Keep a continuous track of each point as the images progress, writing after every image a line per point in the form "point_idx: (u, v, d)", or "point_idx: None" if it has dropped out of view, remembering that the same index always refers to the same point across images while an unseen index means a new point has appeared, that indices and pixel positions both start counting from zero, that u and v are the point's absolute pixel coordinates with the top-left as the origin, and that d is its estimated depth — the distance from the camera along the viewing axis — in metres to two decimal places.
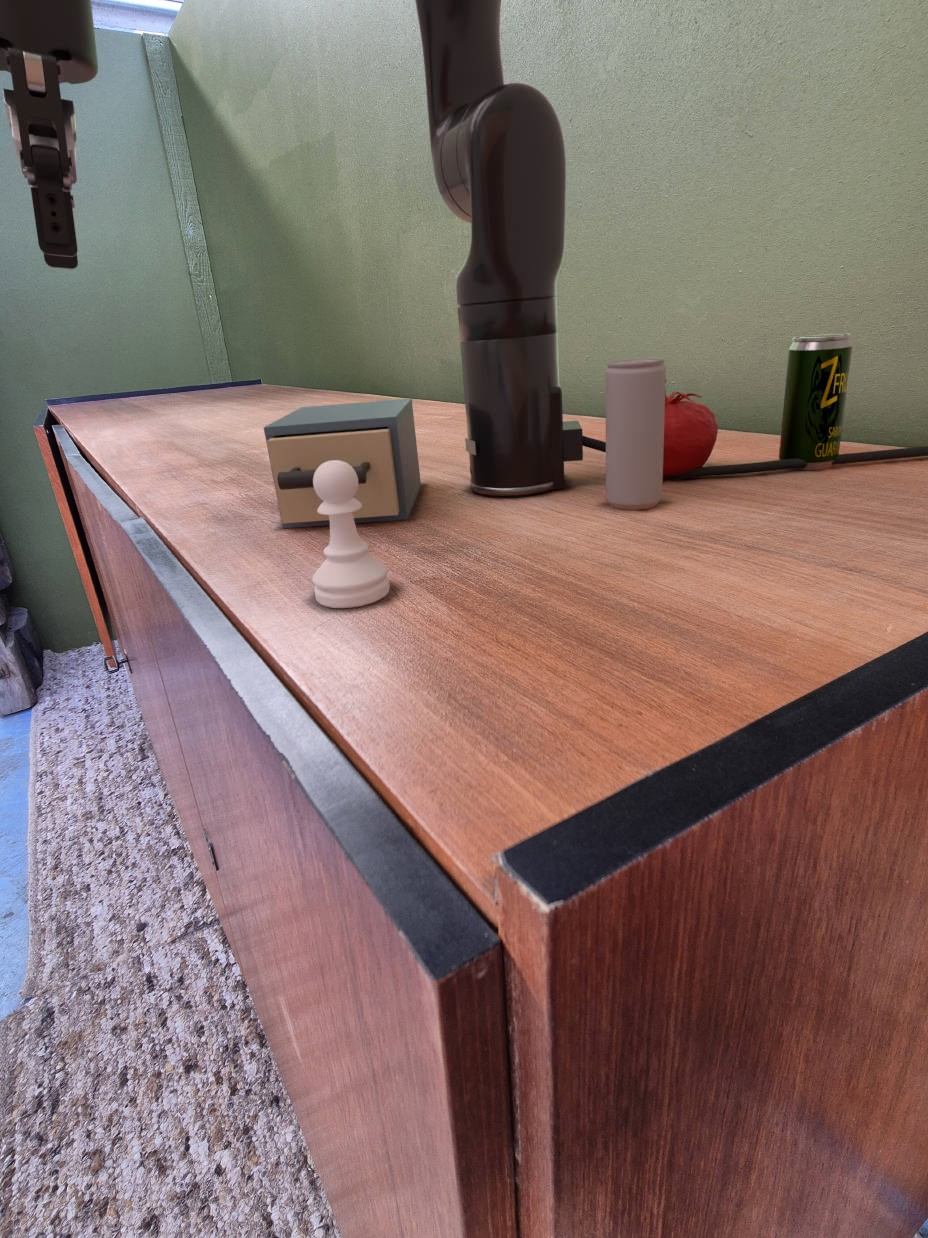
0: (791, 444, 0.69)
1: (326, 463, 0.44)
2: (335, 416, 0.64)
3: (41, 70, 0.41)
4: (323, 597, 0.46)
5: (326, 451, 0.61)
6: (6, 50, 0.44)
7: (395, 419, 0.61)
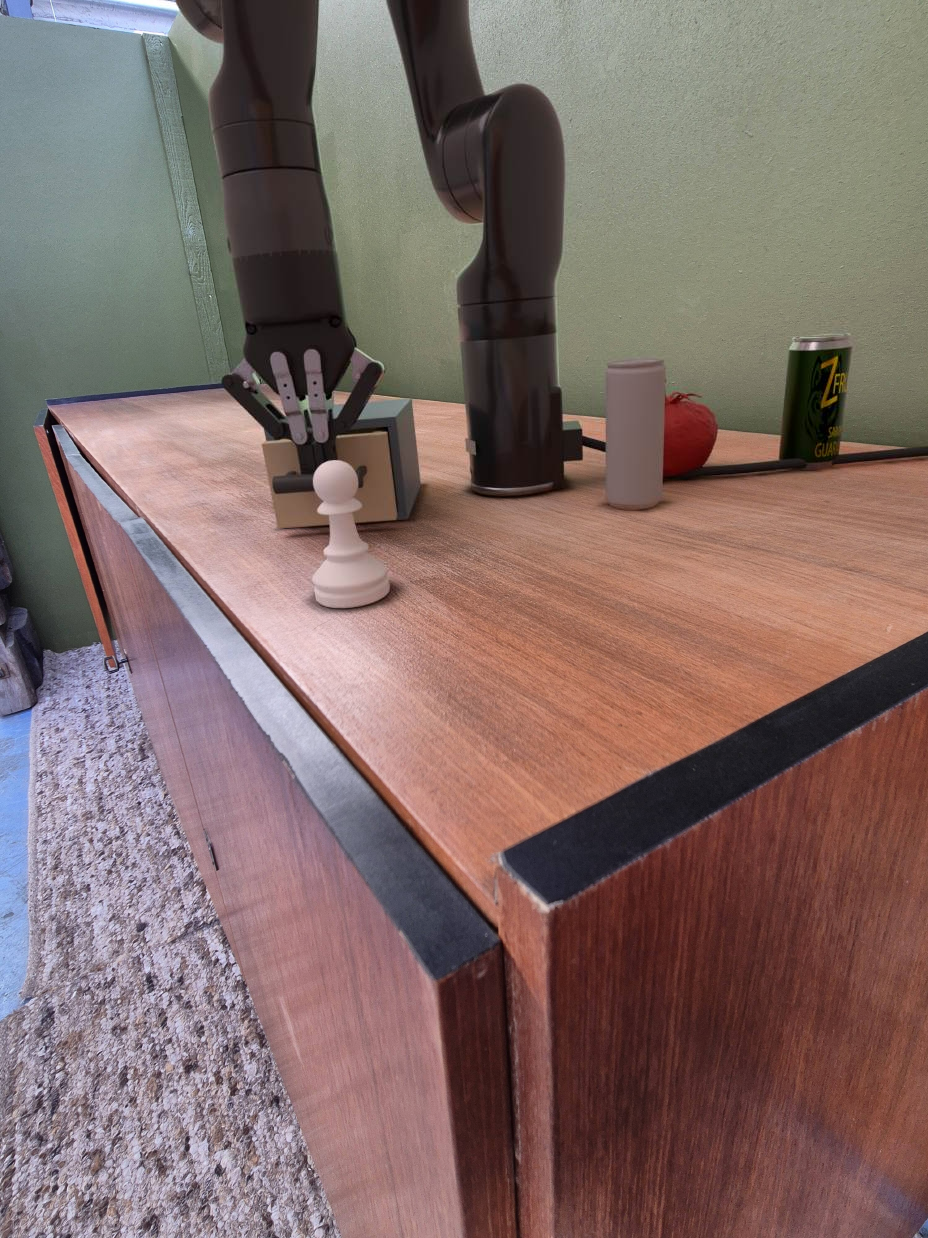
0: (791, 444, 0.69)
1: (326, 463, 0.44)
2: (335, 416, 0.64)
3: (380, 378, 0.55)
4: (323, 597, 0.46)
5: None
6: (318, 320, 0.52)
7: (395, 419, 0.61)
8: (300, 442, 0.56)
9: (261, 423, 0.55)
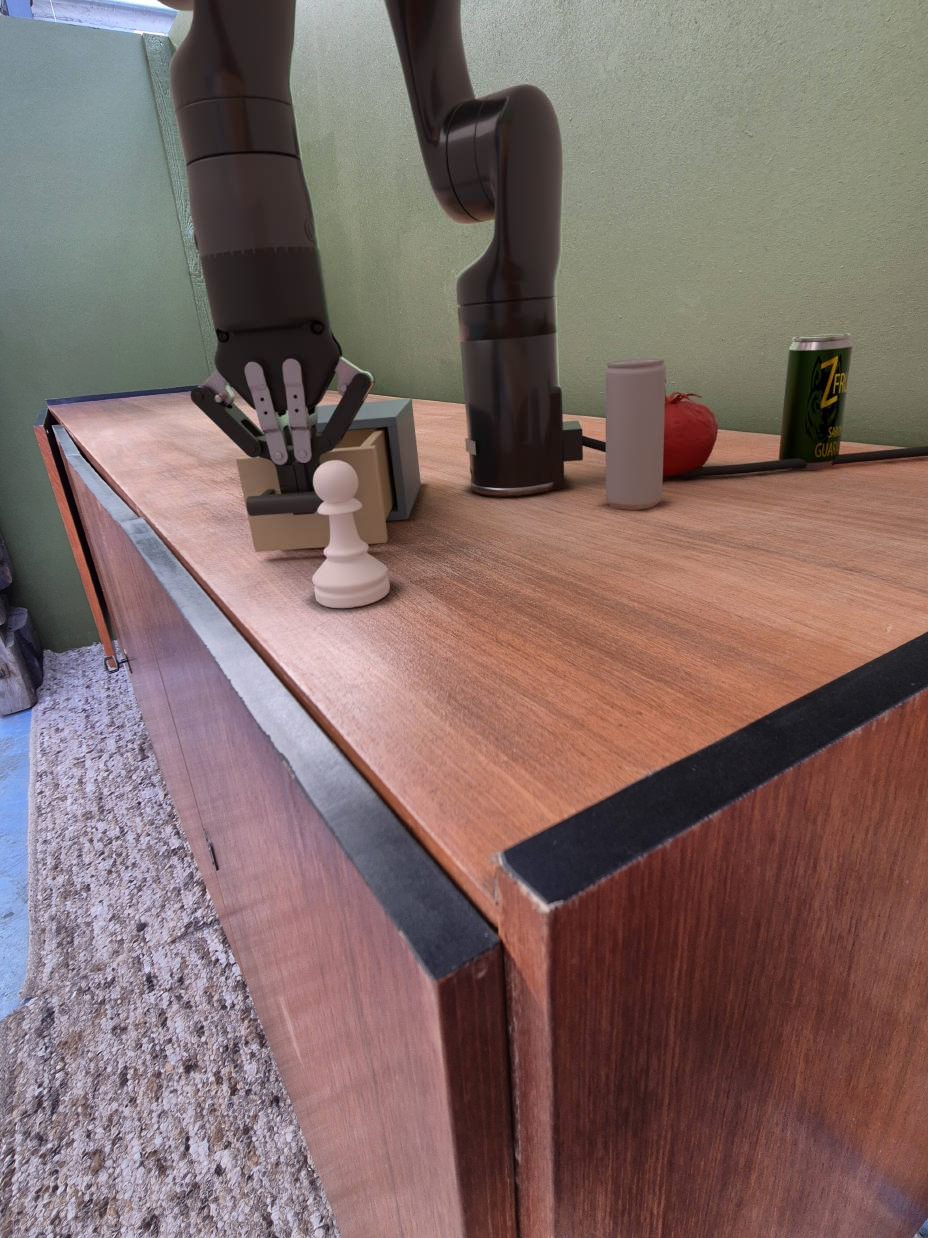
0: (791, 444, 0.69)
1: (326, 463, 0.44)
2: None
3: (369, 390, 0.49)
4: (323, 597, 0.46)
5: None
6: (299, 326, 0.46)
7: (395, 419, 0.61)
8: (280, 462, 0.50)
9: (236, 441, 0.49)
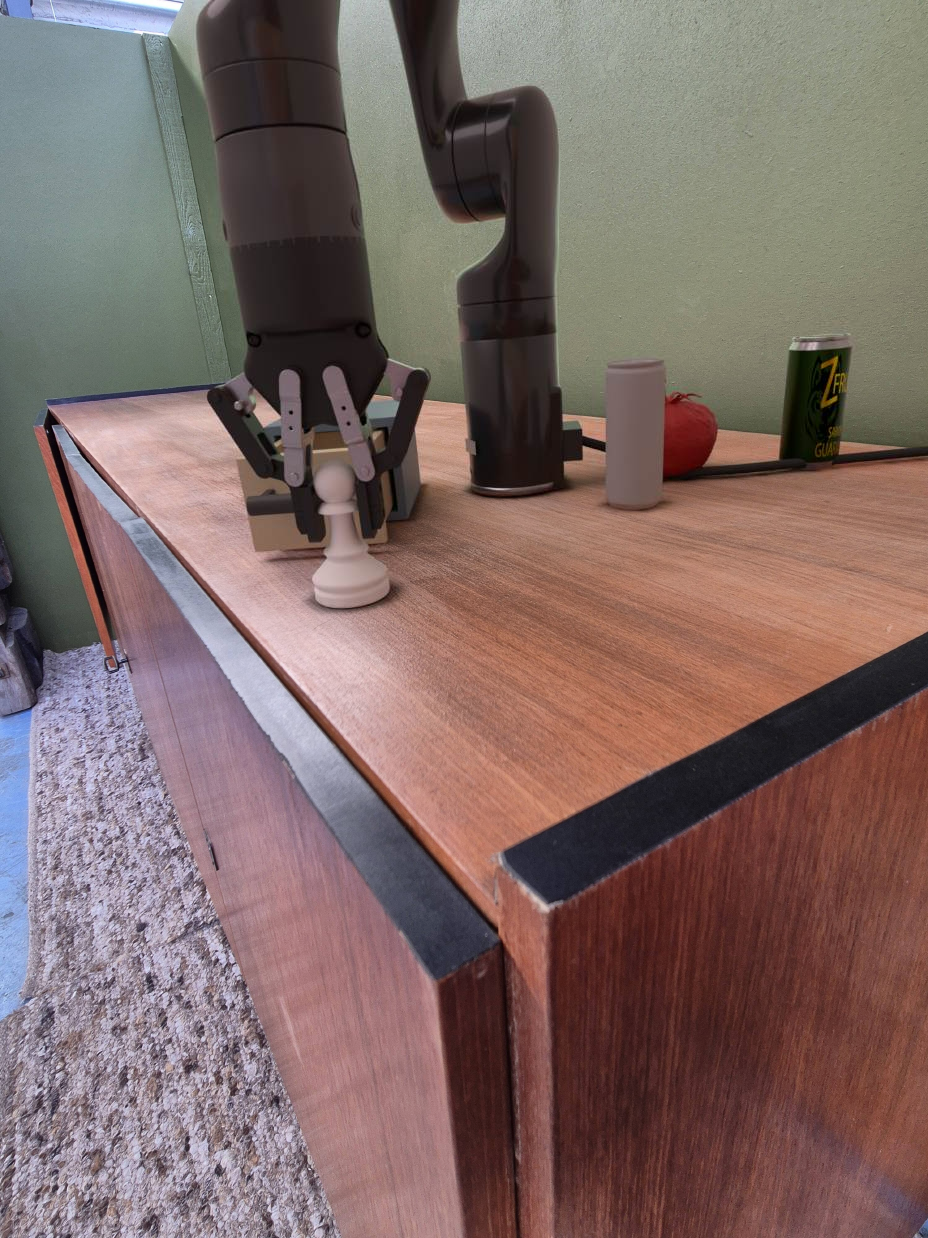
0: (791, 444, 0.69)
1: (326, 463, 0.44)
2: None
3: (426, 388, 0.43)
4: (323, 597, 0.46)
5: None
6: (342, 329, 0.40)
7: None
8: (295, 484, 0.44)
9: (247, 456, 0.43)
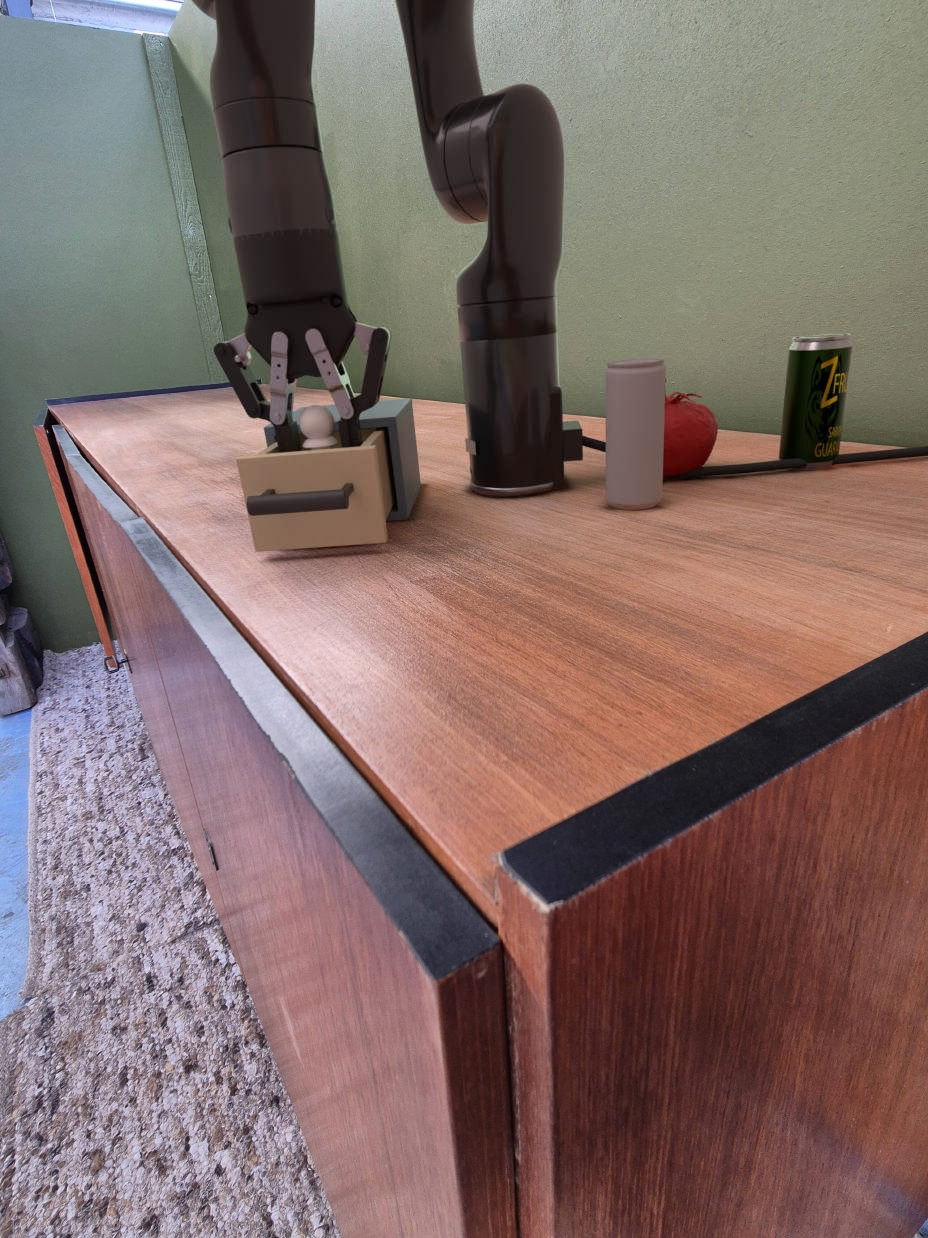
0: (791, 444, 0.69)
1: (309, 407, 0.56)
2: (335, 416, 0.64)
3: (388, 343, 0.55)
4: None
5: (303, 470, 0.53)
6: (320, 300, 0.52)
7: (395, 419, 0.61)
8: (278, 423, 0.56)
9: (241, 399, 0.55)
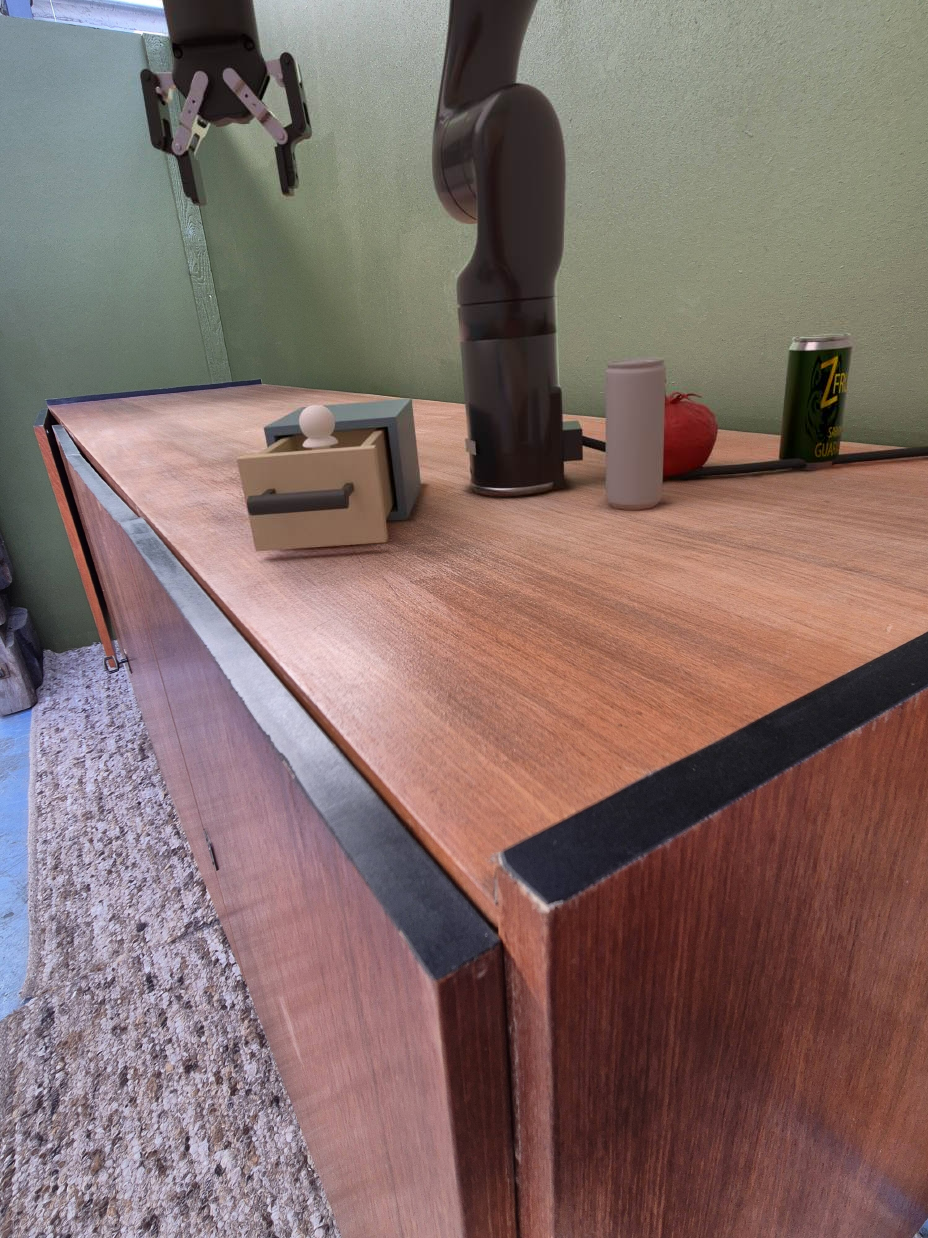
0: (791, 444, 0.69)
1: (309, 406, 0.56)
2: (335, 416, 0.64)
3: (298, 70, 0.63)
4: None
5: (304, 470, 0.53)
6: (234, 41, 0.61)
7: (395, 419, 0.61)
8: (179, 153, 0.64)
9: (150, 126, 0.64)
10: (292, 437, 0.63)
